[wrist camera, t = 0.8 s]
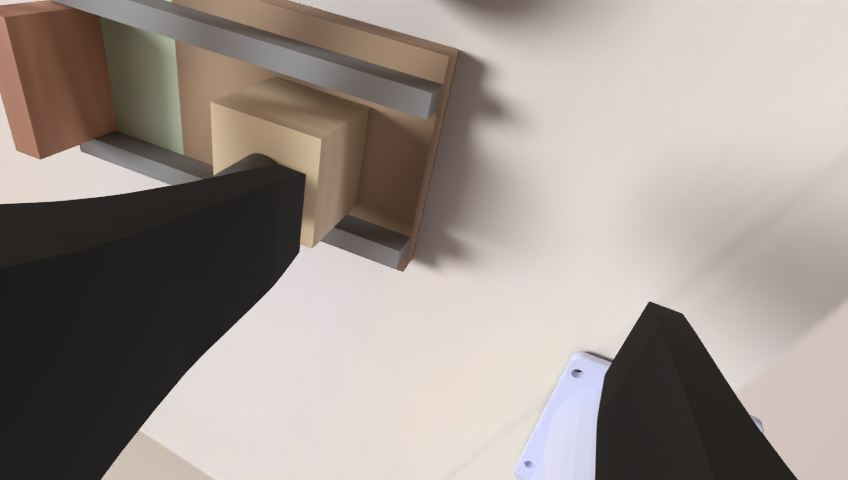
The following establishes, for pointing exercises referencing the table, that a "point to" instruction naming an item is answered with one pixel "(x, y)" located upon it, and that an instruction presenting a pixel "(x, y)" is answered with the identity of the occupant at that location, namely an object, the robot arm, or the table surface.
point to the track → (224, 92)
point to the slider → (295, 144)
